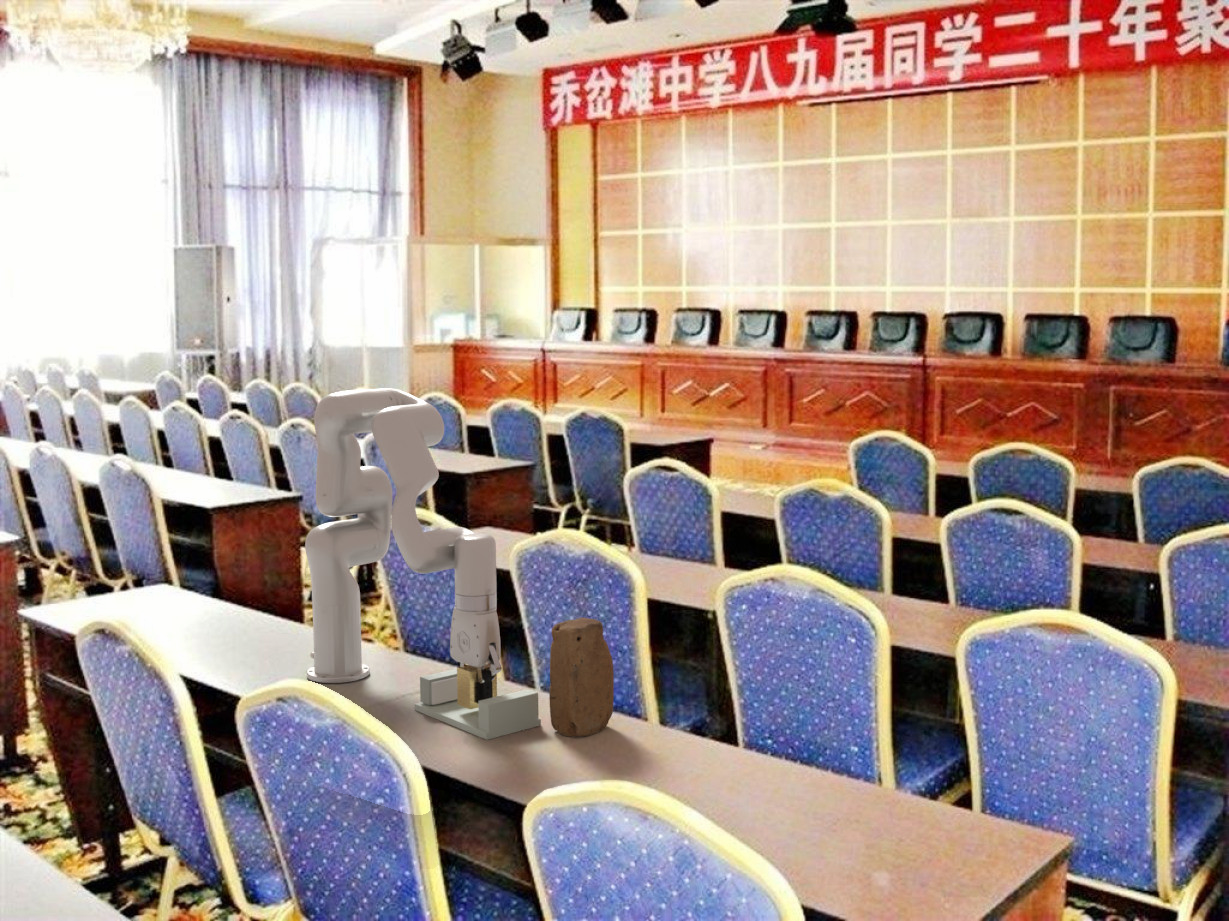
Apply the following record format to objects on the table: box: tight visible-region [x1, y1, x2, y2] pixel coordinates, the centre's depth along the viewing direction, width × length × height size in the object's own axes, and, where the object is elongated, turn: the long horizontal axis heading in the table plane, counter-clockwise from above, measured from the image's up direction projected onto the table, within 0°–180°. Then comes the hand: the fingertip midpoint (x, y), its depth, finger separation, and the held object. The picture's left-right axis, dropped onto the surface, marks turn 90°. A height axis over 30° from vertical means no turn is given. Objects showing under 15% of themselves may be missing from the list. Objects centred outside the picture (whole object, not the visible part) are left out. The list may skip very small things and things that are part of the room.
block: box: [548, 616, 615, 738], centre depth 246 cm, size 11×8×20 cm
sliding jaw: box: [419, 668, 457, 705], centre depth 261 cm, size 4×10×5 cm, turn 131°
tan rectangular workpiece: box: [456, 663, 498, 709], centre depth 254 cm, size 4×6×7 cm, turn 131°
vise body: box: [414, 688, 542, 741], centre depth 254 cm, size 23×12×6 cm, turn 41°
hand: (477, 698), depth 254 cm, fingers closed on tan rectangular workpiece, 4 cm apart
